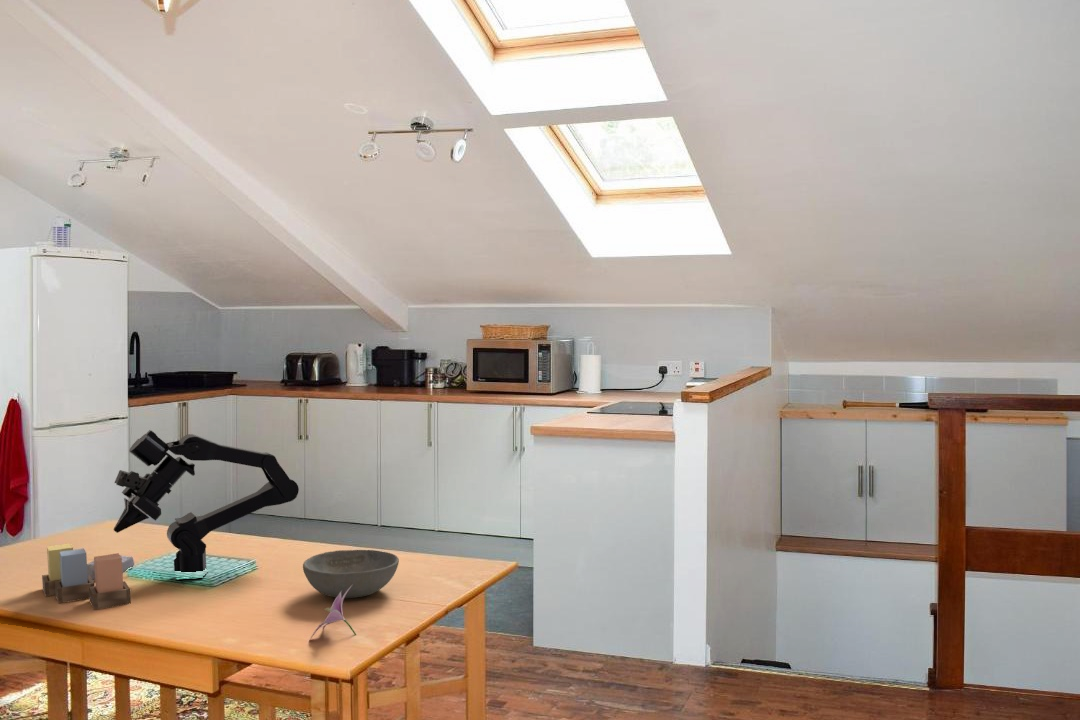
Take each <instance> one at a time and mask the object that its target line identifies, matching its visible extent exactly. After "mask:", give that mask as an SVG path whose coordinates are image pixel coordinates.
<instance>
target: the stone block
mask: <svg viewBox="0 0 1080 720" xmlns="http://www.w3.org/2000/svg"><path fill="white" fill-rule="evenodd" d="M119 555H120V556H121V558H122V571H123V574H124V573H126V572H127V571H126V570H127V569H128V568H130V567H133V566H135V561H134V557H133V556H127V555H122V554H119ZM133 568H134V567H133ZM125 571H126V572H125ZM87 575H88V576H91V578H92V580H93V581H95V567H94V560H93V561H91V562H89V563H87Z"/></svg>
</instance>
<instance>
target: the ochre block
mask: <svg viewBox="0 0 1080 720" xmlns="http://www.w3.org/2000/svg"><path fill="white" fill-rule="evenodd" d="M69 550H74V547H73V544H72V543H62V544H55V545H47V546H46V554H47V558H46V559H47V570H48V574H47V575H48V576H49V580H50V581H54V580H60V579H61V571H60V553H59V552H62V551H69Z"/></svg>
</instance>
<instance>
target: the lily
mask: <svg viewBox="0 0 1080 720" xmlns="http://www.w3.org/2000/svg"><path fill="white" fill-rule="evenodd" d="M351 586H352V585H351ZM351 586H350V588H351ZM350 588H349V589H350ZM349 589H348V590H347V591H346V593H345V594H344V595H343V597H342V598H341V592H340V593H339V595H338V596H337V597H335V599H334V601H333V602H332V605H331V606H329V608H328V607H325V608H324V610H325V611H326V612H329V614H328V615H327V616H326V618H325V620H324V621H323V622H321V623H320V624H319V625H318V626H317V628H316V629H315V630H314V632H313V633H312V635H311V637H310V639H309V641H308V642H310V641H311V639H312V638H313V636H314V635H315V634H316V633H317V631H318V630H319V629H320V628H321V627H322V631H324V630H325V628H326V626H327V625H329V624H332V623H335V622H339V621H343V622H344V623H346V625H347V626H348V628H349V629H350V630H351V632H352V633H353V634H354V636H356V635H357V633H356V631H355V630H354V628H353V627H352V626H351V625H350V623H349V622H348V621H347V620H346V619H345V617H344V614H343V602H344V600H345V598H344V597H345V595H346V594H347V592H348V591H349Z"/></svg>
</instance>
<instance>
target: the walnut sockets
mask: <svg viewBox="0 0 1080 720" xmlns="http://www.w3.org/2000/svg"><path fill="white" fill-rule="evenodd" d="M41 579H42V581H41V582H42V591H43V590H44V591H43V593H44V596H46V597H51V595H52V596H55V597H56V601H57V602H58V604H63V602H64V603H68V601H69V602H74V601H75V602H76V601H82V600H85V599H86V598H87V599H89V602H91V603H90V604H92V605H91V607H92V608H94V609H93V610H94V611H95V610H100V609H101V608H102V609H106V607H107V608H112V606H113V607H117V606H118V605H119V606H124V605H129V603H130V604H131V603H132V602H131V601H132V600H131V599H132V595H131V588H130V586H129V585H128V583H127V582H126V581H124V580H123V589H122V590H116V591H110V592H104V593H97V591H96V586H95V581H94V580H92V578H91V576H88V583H87V584H81V585H75V586H69V587H62V585H61V579H60V580H54V581H50V580H49V576H48V574H43V575H42V576H41ZM123 604H124V605H123ZM119 606H118V607H119Z"/></svg>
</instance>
